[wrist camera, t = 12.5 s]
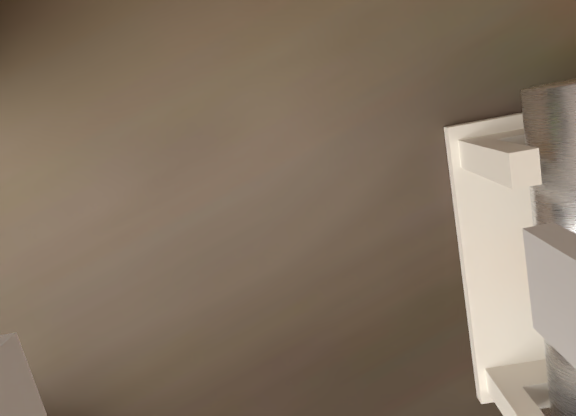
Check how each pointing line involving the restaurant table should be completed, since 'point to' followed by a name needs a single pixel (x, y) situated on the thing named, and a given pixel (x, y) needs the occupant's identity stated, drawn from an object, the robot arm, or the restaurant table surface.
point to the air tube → (554, 199)
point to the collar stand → (498, 259)
